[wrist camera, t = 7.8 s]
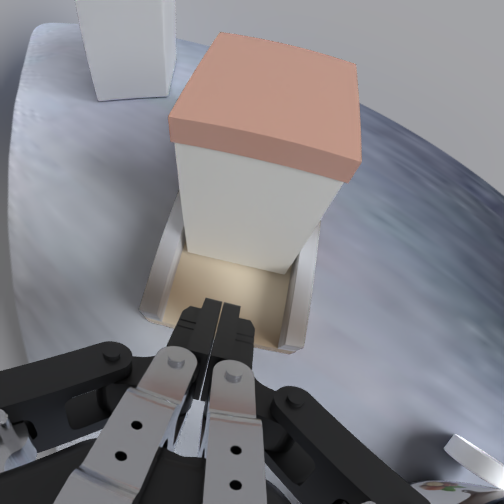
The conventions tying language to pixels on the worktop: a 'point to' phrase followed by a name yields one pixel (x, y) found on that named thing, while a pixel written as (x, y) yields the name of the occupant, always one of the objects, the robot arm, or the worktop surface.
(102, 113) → the worktop surface
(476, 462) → the spread jar
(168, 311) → the track
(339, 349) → the worktop surface
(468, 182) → the worktop surface
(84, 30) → the milk carton
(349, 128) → the pink-topped white box
